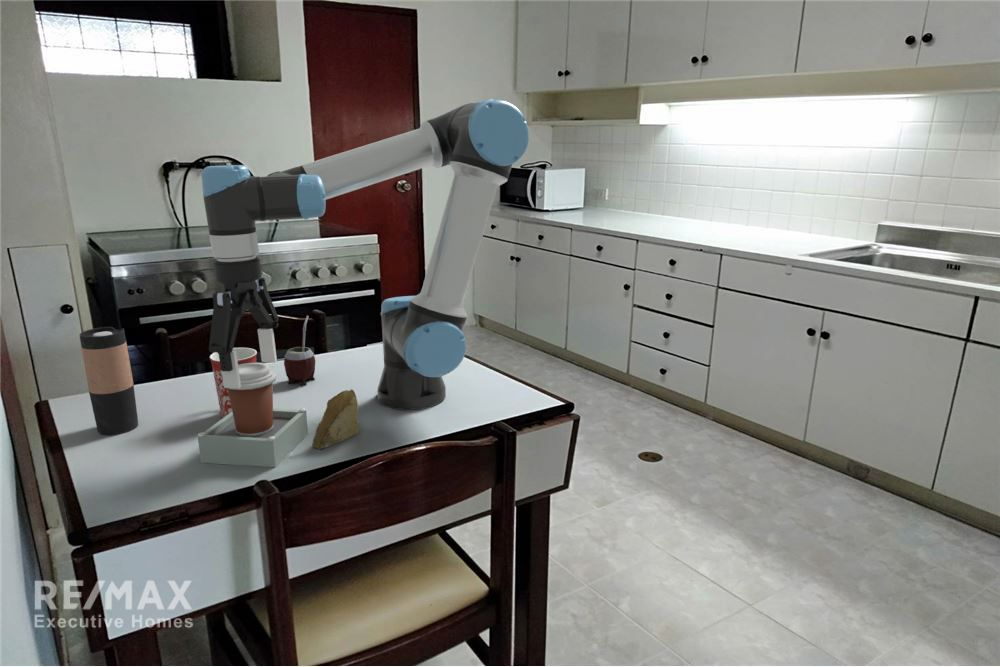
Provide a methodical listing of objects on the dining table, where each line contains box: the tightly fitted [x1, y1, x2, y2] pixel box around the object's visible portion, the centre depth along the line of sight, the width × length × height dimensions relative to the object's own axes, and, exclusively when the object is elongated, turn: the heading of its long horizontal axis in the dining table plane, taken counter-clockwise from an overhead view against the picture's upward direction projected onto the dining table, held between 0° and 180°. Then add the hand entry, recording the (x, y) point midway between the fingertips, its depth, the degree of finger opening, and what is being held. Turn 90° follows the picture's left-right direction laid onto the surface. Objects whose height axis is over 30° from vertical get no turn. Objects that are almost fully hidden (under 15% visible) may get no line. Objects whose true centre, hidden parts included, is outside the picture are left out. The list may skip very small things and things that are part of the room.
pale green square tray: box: [197, 407, 309, 468], centre depth 122 cm, size 14×14×5 cm
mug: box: [209, 347, 258, 419], centre depth 138 cm, size 13×9×14 cm
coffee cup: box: [222, 362, 277, 437], centre depth 120 cm, size 9×9×12 cm
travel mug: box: [79, 326, 139, 436], centre depth 129 cm, size 8×8×20 cm
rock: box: [311, 389, 360, 450], centre depth 126 cm, size 11×9×10 cm
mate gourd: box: [283, 315, 316, 387], centre depth 156 cm, size 8×8×15 cm
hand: (252, 374), depth 119 cm, fingers open, 13 cm apart
